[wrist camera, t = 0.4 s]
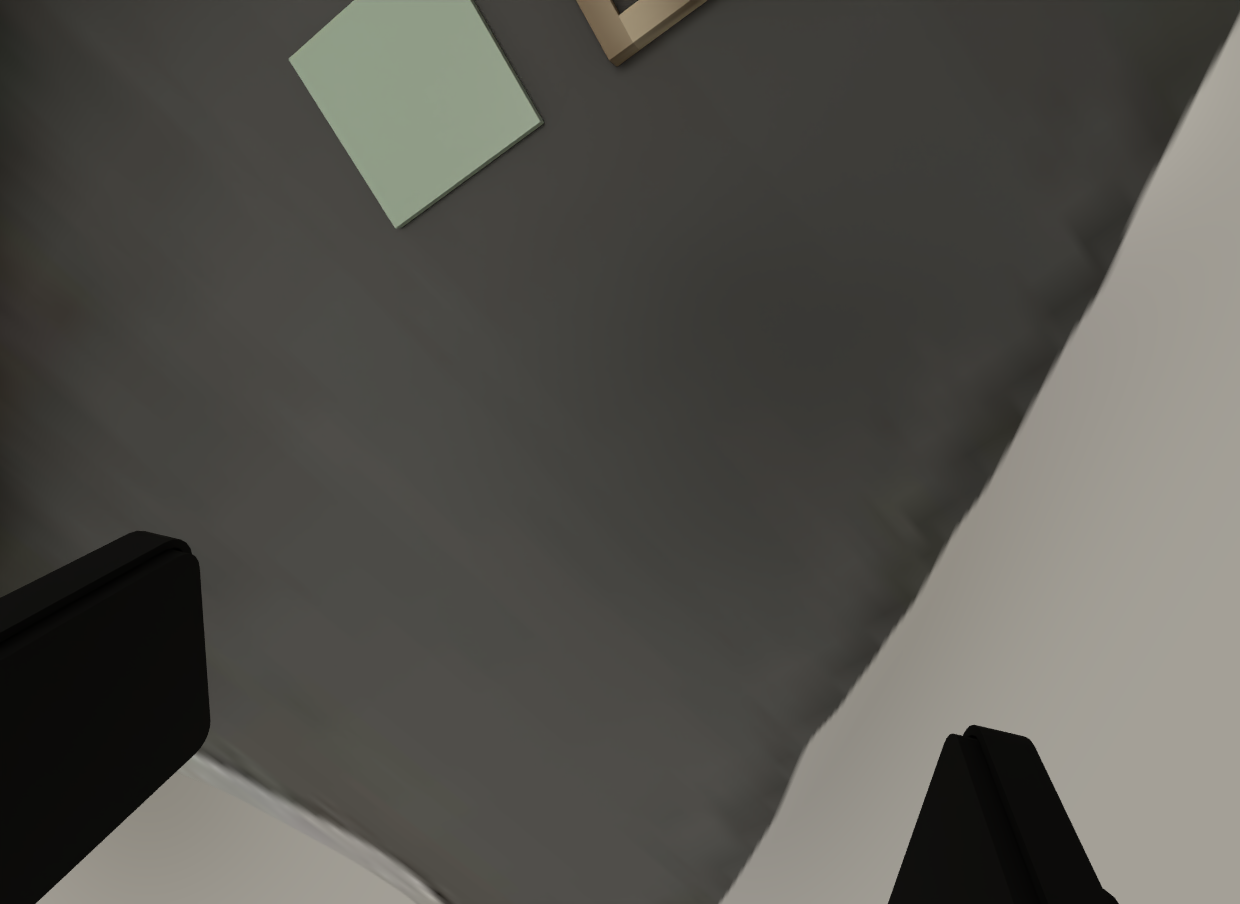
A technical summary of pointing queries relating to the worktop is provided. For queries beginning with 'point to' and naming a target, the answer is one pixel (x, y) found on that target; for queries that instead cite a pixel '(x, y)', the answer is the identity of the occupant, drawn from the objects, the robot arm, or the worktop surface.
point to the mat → (415, 96)
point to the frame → (633, 23)
